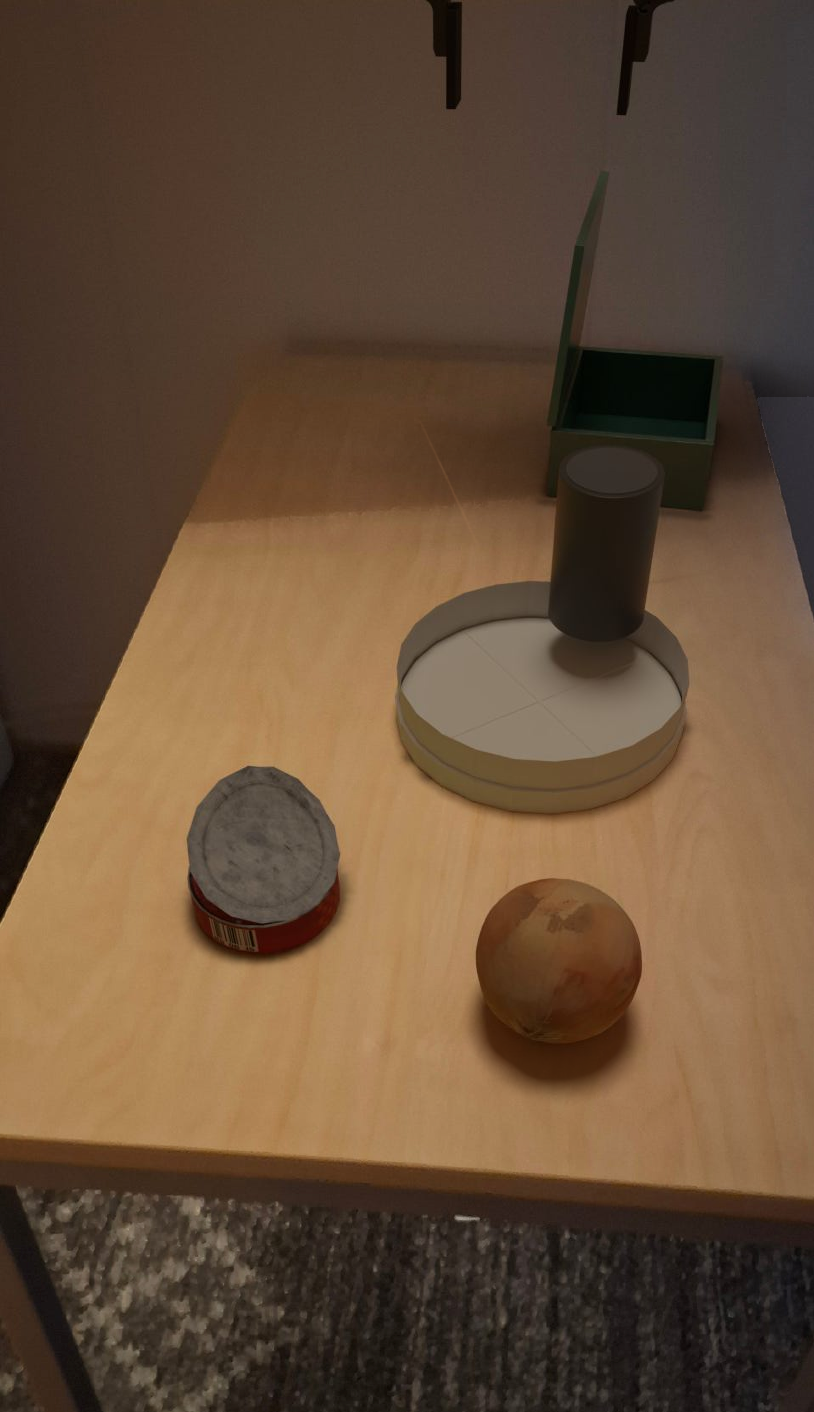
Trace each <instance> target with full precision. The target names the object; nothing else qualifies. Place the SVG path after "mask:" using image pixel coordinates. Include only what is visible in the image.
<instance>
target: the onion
mask: <svg viewBox="0 0 814 1412" xmlns="http://www.w3.org/2000/svg"><path fill="white" fill-rule="evenodd" d="M475 947H476V948H475V968H476V974H477V978H478V983H479V986H480V990H481V994H482V997H483V999H484V1001H485V1003H486V1005H487V1006H488V1008H489V1009H490V1011H491V1012H492V1013H493V1015H494V1016H495V1017H496V1018H497V1019H498V1020H499V1021H501V1022H502V1023H503V1024H504V1025H506V1026H507V1027H508V1028H510V1029H511V1030H513V1031H514V1032H516V1033H518V1034H520V1035H521V1036H523V1037H525V1038H526V1039H529V1040H531V1041H537V1042H539V1041H540V1042H544V1043H547V1044H568V1043H576V1042H580V1041H584V1040H587V1039H590V1038H592V1037H596V1036H598V1035H600V1034H601V1033H603V1032H605V1031H606V1030H607V1029H609V1028H610V1027H612V1026H613V1025H614V1024H615V1023H616V1022H617V1021H618V1020H619V1019H621V1017H622V1016H623V1015H624V1014H625V1013H626V1011H627V1010H628V1008H629V1006H630V1005H631V1003H632V1001H633V999H634V997H635V995H636V992H637V990H638V987H639V985H640V981H641V978H642V973H643V958H642V957H643V956H642V947H641V940H640V937H639V934H638V932H637V929H636V927H635V925H634V923H633V920H632V919H631V918H630V916H629V915H628V913H627V912H626V911H625V909H623V907H622V906H621V905H620V904H619V903H618V902H617V901H616V900H615V899H614V898H613V897H612V896H610V895H608V894H607V893H605V892H604V891H602V890H601V889H599V888H597V887H595V886H593V885H591V884H589V883H585V882H583V881H578V880H574V879H569V878H557V877H556V878H554V877H550V878H540V879H537V880H532V881H528V882H526V883H523V884H520V885H518V886H515V887H514V888H513V889H511V890H509V891H508V892H507V893H506V894H504V895H503V896H502V897H500V898H499V900H498V901H497V902H496V903H495V904H494V905H493V906H492V907H491V909H490V910H489V911H488V913H487V915H486V917H485V918H484V921H483V923H482V926H481V928H480V931H479V933H478V939H477V942H476V946H475Z"/></svg>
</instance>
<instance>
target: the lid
mask: <svg viewBox="0 0 814 1412" xmlns="http://www.w3.org/2000/svg"><path fill="white" fill-rule="evenodd" d="M609 177H610V171H606V170H600V171H599V175H598V177H597V181H596V183H595V186H594V189H593V191H592V194H591V198H590V200H589V203H588V207H587V209H586V212H585V215H584V218H583V221H582V223H581V226H580V229H579V232H578V235H577V238H576V241H575V244H574V249H573V255H572V260H571V261H572V263H571V268H570V273H569V281H568V286H567V294H566V299H565V306H564V311H563V312H564V313H563V319H562V326H561V331H560V338H559V344H558V351H557V358H556V362H555V363H556V364H555V370H554V377H553V383H552V390H551V396H550V401H549V408H548V416H547V421H546V426H549V427H552V426H554V427H555V426H556V423H557V420H558V416H559V413H560V409H561V406H562V403H563V399H564V396H565V392H566V389H567V386H568V382H569V379H570V376H571V372H572V369H573V365H574V362H575V359H576V355H577V352H578V349H579V346H581V343H582V342H581V341H582V337H583V330H584V324H585V319H586V312H587V306H588V302H589V301H588V300H589V296H590V295H589V294H590V288H591V283H592V276H593V272H594V265H595V259H596V254H597V247H598V242H599V235H600V228H601V225H602V224H601V223H602V219H603V212H604V206H605V200H606V194H607V188H608V182H609Z"/></svg>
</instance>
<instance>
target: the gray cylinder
mask: <svg viewBox="0 0 814 1412" xmlns="http://www.w3.org/2000/svg"><path fill="white" fill-rule="evenodd" d="M664 477H665V471H664V468H663V466H662V464H661V463H660V462H659V461H658V460H657V459H656V458H655V457H653V456H651V455H650V454H648V453H646V452H643V451H641V450H638V449H635V448H630V447H625V446H617V445H600V446H592V447H587V448H583V449H580V450H577V451H575V452H573V453H571V454H569V455H568V456H567V457H565V458H564V459H563V461H562V462H561V464H560V466H559V475H558V488H557V498H556V500H555V501H556V503H555V514H554V515H555V517H554V530H553V541H552V553H551V554H552V556H551V557H552V558H551V566H550V567H551V569H550V581H549V582H550V594H549V607H548V615H549V618H550V621H551V622H552V624H553V625H554V626H555V627H556V628H557V629H558V630H559V631H561V632H562V633H564V634H566V635H568V636H570V637H573V638H576V639H579V640H584V641H591V642H607V641H614V640H618V639H622V638H624V637H627V636H629V635H631V634H632V633H634V632H635V631H636V630H637V629H638V628H639V627H640V625H641V624H642V622H643V618H644V612H645V610H646V606H647V605H646V604H647V597H648V591H649V584H650V577H651V571H652V563H653V558H654V551H655V544H656V536H657V530H658V525H659V517H660V510H661V507H660V504H661V497H662V491H663V484H664Z"/></svg>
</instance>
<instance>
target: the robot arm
mask: <svg viewBox="0 0 814 1412" xmlns="http://www.w3.org/2000/svg"><path fill="white" fill-rule="evenodd" d="M425 1H426V2H427V3H429V5H430V6H431V9H432V51H433V54H434V56H435V57H436V58H437V57H438V58H445V109H446V110H453V111H454V110H457V108H458V106H459V104H460V103H461V101H462V62H463V61H462V58H463V57H462V56H463V55H462V54H463V53H462V48H463V1H452V0H425ZM632 1H633V3H634V4H629V5H628V7H627V10H626V13H625V19H624V20H625V21H624V28H623V29H624V31H623V42H622V51H621V61H620V71H619V82H618V83H619V84H618V94H617V103H616V104H617V105H616V114H615V115H616V116H627V114H628V109H629V106H630V99H631V89H632V88H631V87H632V77H633V69H634V68H633V67H634V63H645V62H646V60H647V58H648V55H649V52H650V48H651V47H650V46H651V38H652V37H651V36H652V27H653V19H654V12H655V11H656V9H657V8H658V7H660V6H662V5H664V4H668V3H673V2H675V0H632Z"/></svg>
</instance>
